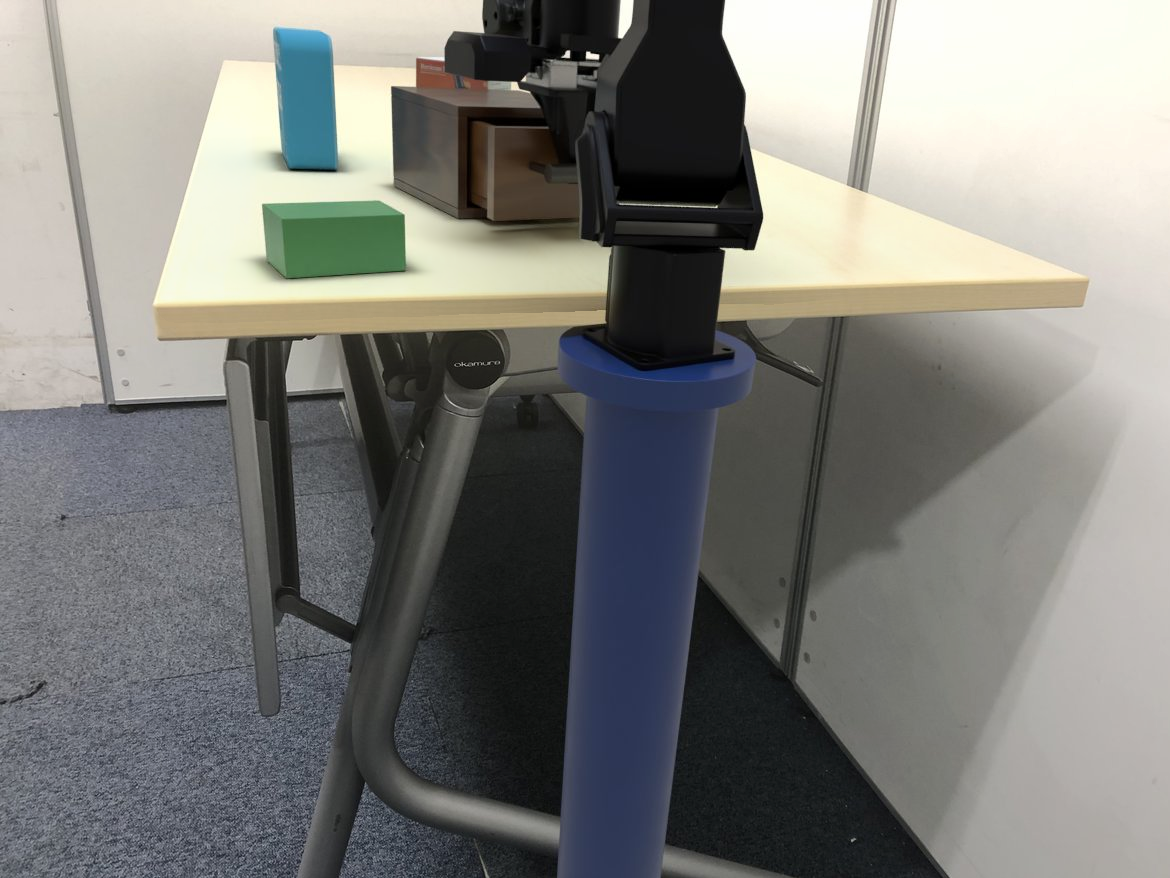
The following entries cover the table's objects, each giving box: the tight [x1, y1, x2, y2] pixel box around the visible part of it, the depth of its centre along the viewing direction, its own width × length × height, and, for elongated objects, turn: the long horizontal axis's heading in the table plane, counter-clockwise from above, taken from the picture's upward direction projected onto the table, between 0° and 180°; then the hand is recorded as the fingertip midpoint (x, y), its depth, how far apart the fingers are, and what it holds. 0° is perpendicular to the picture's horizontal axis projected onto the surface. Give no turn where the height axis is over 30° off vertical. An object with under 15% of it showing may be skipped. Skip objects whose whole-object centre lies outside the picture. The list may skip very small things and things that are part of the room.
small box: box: [415, 56, 512, 90], centre depth 99 cm, size 8×6×10 cm
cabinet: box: [390, 85, 545, 219], centre depth 86 cm, size 15×13×9 cm
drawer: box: [467, 117, 580, 222], centre depth 80 cm, size 18×11×7 cm, turn 33°
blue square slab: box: [272, 26, 339, 171], centre depth 96 cm, size 12×4×12 cm, turn 21°
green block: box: [261, 200, 407, 279], centre depth 62 cm, size 5×8×4 cm, turn 123°
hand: (571, 183), depth 76 cm, fingers closed, pressing on drawer
